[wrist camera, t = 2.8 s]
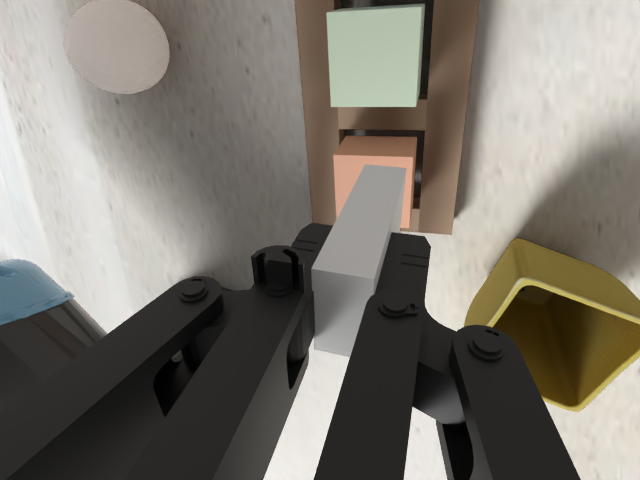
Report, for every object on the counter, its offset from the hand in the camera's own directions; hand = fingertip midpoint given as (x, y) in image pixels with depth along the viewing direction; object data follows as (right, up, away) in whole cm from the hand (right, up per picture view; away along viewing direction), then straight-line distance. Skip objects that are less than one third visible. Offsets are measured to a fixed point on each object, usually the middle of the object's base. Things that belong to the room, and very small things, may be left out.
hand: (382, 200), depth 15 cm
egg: (-15, +14, +17) cm, 26 cm away
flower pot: (+15, -4, +18) cm, 24 cm away
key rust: (+2, +4, +15) cm, 16 cm away
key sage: (+2, +10, +11) cm, 15 cm away
